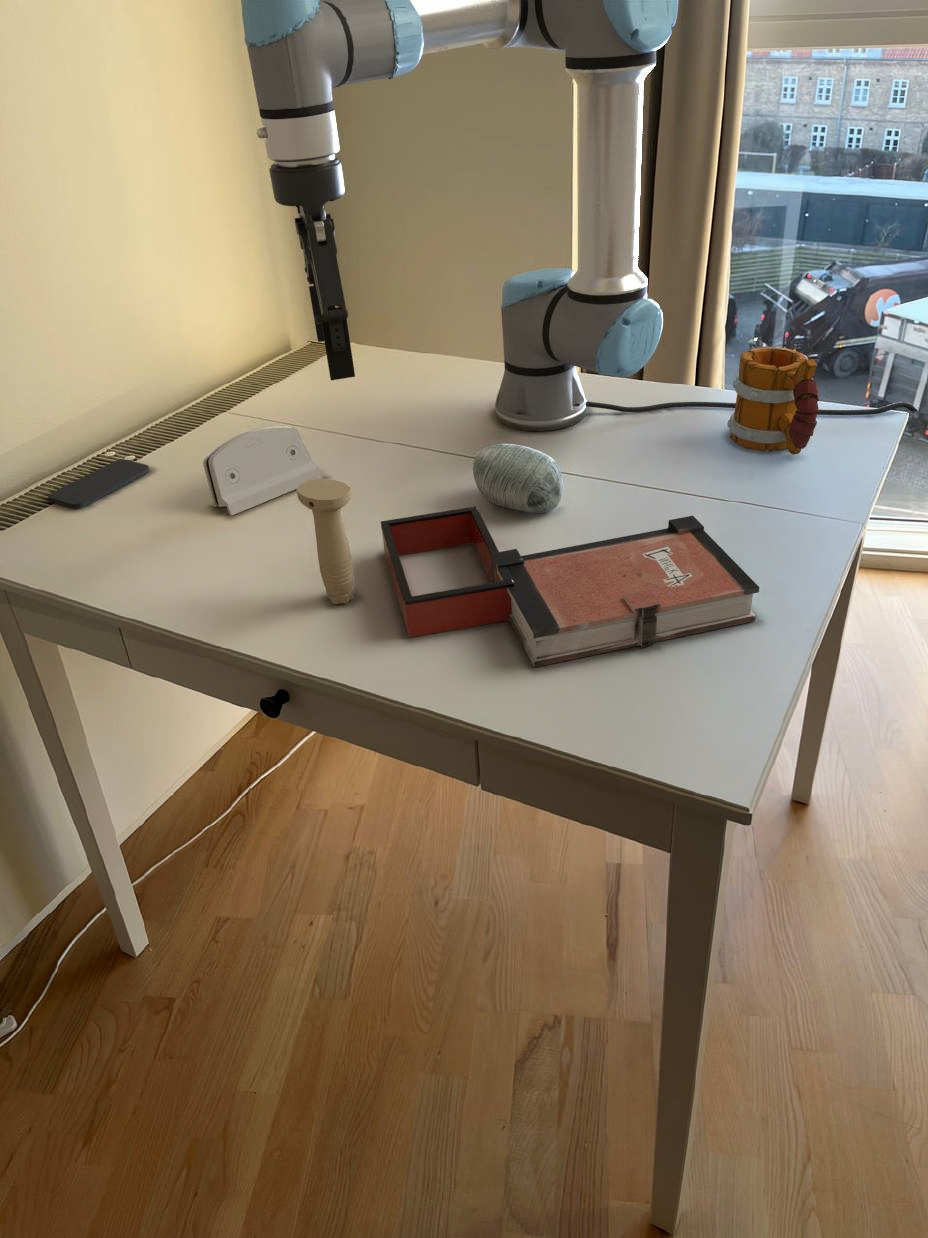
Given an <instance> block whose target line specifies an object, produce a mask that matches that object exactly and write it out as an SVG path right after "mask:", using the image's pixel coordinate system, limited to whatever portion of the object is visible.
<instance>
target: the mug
mask: <svg viewBox="0 0 928 1238" xmlns="http://www.w3.org/2000/svg"><path fill="white" fill-rule="evenodd" d="M816 362H817V361H815V359H813V358H808V357H807V356H806V355H805V354H804V353H802V352H800V351H797V350H795V349H791V348H787V347H782V346H781V347H780V346H773V347H770V346H765V347H764V346H763V347H755V348H752V349H749V350H747V351H743V352H742V353H741V354H740V355H739V364H738V365H739V367H738V375H737V376H736V377H735V380H733V383H732V387H733V389H734V390H735V393H736V401H735V403H736V405H735V408H734V411H733V412H732V414H730V415H731V416H730V418H729V419H728V420H727V422H726V423H727V427H728V428H729V431H730V434H729V438H730V439H731V441H732V442H733V443H735V444H736V445H738V446H740V447H743V448H745V449H748V450H753V451H759V452H766V451H767V452H773V451H774V452H775V451H776V452H779V451H783V450H787V451H788V452H789V454H790V455H799V454H800V453H801V451H802V450H803V449H806V447H807V445H808V443H809V442H810V439H811V437H813V436H814V432H815V428H816V427H817V424H818V421H817V415H816V414H817V413H818V412H819V409H820V408H819V401H820V399H819V397H820V396H819V388H818V383H817V381H815V380H814V378H813V377H815V373H816V370H817V366H818V364H817V363H816Z"/></svg>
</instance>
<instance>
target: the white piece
mask: <svg viewBox="0 0 928 1238" xmlns="http://www.w3.org/2000/svg"><path fill="white" fill-rule="evenodd" d="M202 465H203V469H204V473H205V476H206V477H205V478H206V481H207V485H208V489H209V492H210V497H211V501H212V504H213V507H215V508H217V507H221V508H222V507H226V509H227V512H228V515H229V516H234V515H237V514H239V513H242V512H244V511H246V510H249V509H251V508H254V507H256V506H258V505H259V506H260V505H261V504H263V503H265V502H268V501H270V500H273V499H276V498H278V497H280V496H282V495H285V494H287V493H290V492H293V491H295V490H297V488H298V487H299V486H300V485H301V484H303V483H304V482H306V481H309V480H312V479H323V475H322V473H321V469H320V468H319V466H318V465H317V464H316V463H315V461H314V460H313V458H312V455H311V454H310V452H309V449H308V447H307V446H306V444H305V441H304V439H303V437H302V435H301V434H300V431H299V429H297V428H295V427H292V426H267V427H261V428H256V429H252V430H249V431H246V432H243V433H240V434H238V435H236V436H234V437H232V438H230V439H228V440H226V441H225V442H224V443H222V444H220V445H219V446H218V447H216V448H215V449H214V450H213V451H212V452H210V453H209V454H208V455H207V456H206V457H205V458H204V459H203V462H202Z"/></svg>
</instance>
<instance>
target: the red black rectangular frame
mask: <svg viewBox="0 0 928 1238" xmlns="http://www.w3.org/2000/svg"><path fill="white" fill-rule="evenodd" d="M380 528H381V535H382V542H383V551H384V556H385V559H386V564H387V566H388V570H389V574H390V577H391V580H392V583H393V587H394V590H395V594H396V597H397V600H398V603H399V607H400V610H401V614H402V617H403V621H404V625H405V628H406V631H407V634H408V637H409V638H415V637H421V636H426V635H434V634H438V633H444V632H449V631H455V630H461V629H466V628H472V627H477V626H483V625H489V624H494V623H500V622H505V621H506V622H507V621H509V614H512V605H511V597H510V596H509V594H508V591H507V588H508V587H513V586H514V582H513V579H512V577H511V575H510V573H509V571H508V569H507V567H506V566H501V567H498V571H499V573H500V575H501V577H502V579H503V581H501V579H500V577H499V576H498V574H497V572H496V579H497V582H493V583H492V573H491V555H490V554H491V553H496V552H500V551H499V548H498V547H497V545H496V543H495V541H494V538H493V537H492V534H491V533H490V531H489V529H488V527H487V525H486V523H485V521H484V519H483V516H482V515H481V513H480V511H479V509H478V508H477V506H476V505H475V506H469V507H462V508H456V509H455V508H454V509H450V510H444V511H443V510H442V511H438V512H432V513H431V512H430V513H425V514H418V515H413V516H406V517H400V518H392V519H388V520H387V519H386V520H381V521H380ZM471 544H472V545H474V548H475V551H476V552H477V554H478V556H479V558H480V560H481V561H480V562H481V563H482V565H483V567H484V569H485V571H486V574H487V576H488V579H489V580H490V582H488V583H482V584H477V585H470V586H464V587H458V588H453V589H447V590H441V591H436V592H435V591H434V592H429V593H425V594H424V593H423V594H418V595H417V594H416V595H412V593H411V590H410V586H409V583H408V580H407V577H406V574H405V570H404V568H403V564H402V562H401V559H400V556H405V555H411V554H416V553H423V552H429V551H436V550H440V549H447V548H453V547H459V546H466V545H471Z"/></svg>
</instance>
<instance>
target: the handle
mask: <svg viewBox="0 0 928 1238" xmlns="http://www.w3.org/2000/svg"><path fill="white" fill-rule="evenodd" d="M352 494H353V493H352V487H350V486H349V485H348V484H346V483H345V482H343V481H340V480H338V479H337V480H336V479H332V478H321V479H312V480H309V481H306V482H304V483H303V484H301V485H300V486H299V487H298V488H297V489H296V495H297V499H298V501H299V502H300V503H301V504H302V505H303V506H304V507H305V508H307V509H309V510H311V511H312V516H313V525H314V532H315V542H316V551H317V560H318V565H319V571H320V575H321V579H322V582H323V586H324V588H325V592H326V596H327V598H328V599H329V600H330V602H331V603H332V604H333V605H338V604H344V605H345V604H349V601H351V600H353V599H354V598H355V588H353V587H354V566H353V560H352V554H351V549H350V548H351V547H350V545H349V539H348V536H347V535H348V534H347V531H346V526H345V521H344V516H343V512H342V511H343V510H342V508H343V507H345V506H346V505H348V504H349V503H350V501H352V498H353V497H352V496H353V495H352Z"/></svg>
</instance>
